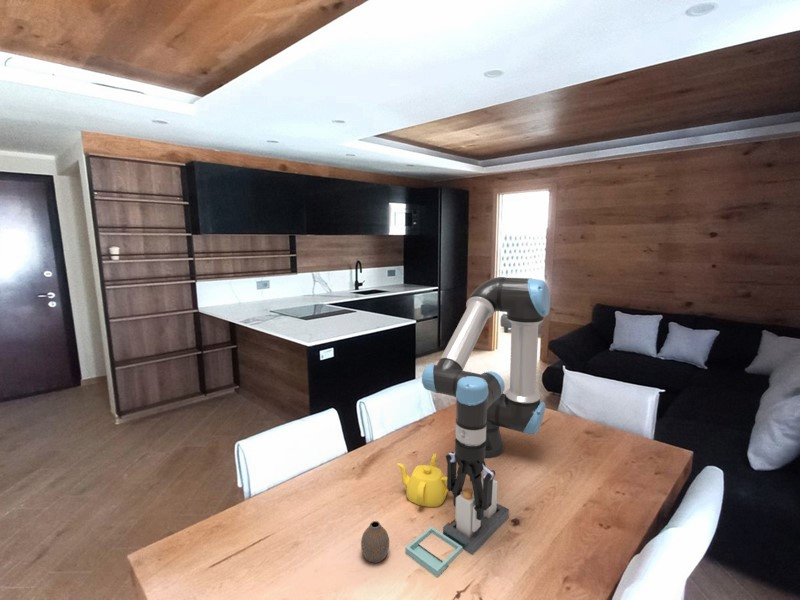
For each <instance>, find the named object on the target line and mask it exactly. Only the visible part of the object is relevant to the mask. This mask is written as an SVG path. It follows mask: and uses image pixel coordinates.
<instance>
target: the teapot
mask: <svg viewBox="0 0 800 600" xmlns="http://www.w3.org/2000/svg"><path fill="white" fill-rule="evenodd" d="M396 465H397V466H398V467H399V468H400V471H401V479H402V480H401V481H402V484H403V485H404V486H405V488H406V491H405V492H406V497H407V499H408V501H409V502H411V503H413V504H415V505H418V506H420V507H426V508H437V507H440V506H441V505H442V504H443V503H444V501H445V499H446V498H447V495H448V493H449V491H448V489H447V476H445V475H444V473H443V471H442V469H441V468H438V467H437V453H433V454H432V456H431V460H430V463H429V464H420V465H417V466H416V467H415V468H414V469H413V471H412V473H411V475H410V476H409V475H408V473H407V467H406V466H405V465H404V464H402V463H400V462H396Z"/></svg>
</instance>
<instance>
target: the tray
mask: <svg viewBox="0 0 800 600" xmlns="http://www.w3.org/2000/svg"><path fill="white" fill-rule="evenodd" d="M431 534H433V535H435V536H436V537H437V538H439V539H440V540H442V541H443V542H445V543H446V544H448V545H449V546H450V547H453V548H454V549H455V550H454V551H452V552H451V553H450V554H449V556H447V557H446V558H445V559H444V560H442V559H440V558H439V557H437V556H436V555H435V554H433V553H432V552H430V550H428V549H426V548H425V547H424V546H422V545H421V544H420V543H421V542H422V541H424V540H425V539H426V538H427V537H428V536H429V535H431ZM463 550H464V549H463V547H462V546H461V545H459V544H458V543H456V542H454V541H453V540H451V539H450V538H448V537H447V536H445V535H444V534H443V532H440V531H439V530H437V529H436V528H435V527H433V526H430V527H428V529H426V530H425V531H424V532H423V533H421V534H420V535H419V536H418V537H417V538H415V539H414V540H412V542H410V543H409V544H408V545H406V546H405V550H404V553H405V554H406V555H407V556H408V557H409V558H411V559H412V560H414V561H415V562H416V563H418V564H419V565H420V566H422V567H423V568H424V569H425V570H427V572H429V573H430V574H431V575H434V577H436V578H438V577H440V575H442V573H444V571H446V569H448V568H449V566H450V565H449V564H450V563H452V562H453V560H455V558H456V557H457V556H459V555H460V554H461V553H462V552H463Z"/></svg>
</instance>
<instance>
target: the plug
mask: <svg viewBox="0 0 800 600" xmlns="http://www.w3.org/2000/svg"><path fill="white" fill-rule="evenodd" d="M462 490H463V491H462V492H461V494H460V495H459V496H457V524H456V529H457V530H458V531H460V532H462V533H463V534H465V535H466V536H468V537H470V538H471V537H472V536H473V535H474V534H475V533H476V532H477V531H478V529H477V530H476V531H475V532H473V531H472V518H473V507H474V506H475V499H474V493H473V489H471V488H470V487H469V488H467V487H466V488H464V489H462Z"/></svg>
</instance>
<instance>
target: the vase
mask: <svg viewBox="0 0 800 600" xmlns="http://www.w3.org/2000/svg"><path fill="white" fill-rule="evenodd" d="M360 541H361V542H360V547H361V552H362V556H364V558H365V559H366V561H368V562H369V563H374V564H376V563H379V562H381V561H383V560H384V559H385V558H386V557H387V555H388V553H389V550H390V538H389V534H388V531H387V530H386V528H384V527H383V525H381V523H380V522H379V521H378V520H373V521H371V522H370V523H369V525H368V527H367V528H366V529H365V530H364V532H363V533H362V536H361V540H360Z"/></svg>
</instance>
